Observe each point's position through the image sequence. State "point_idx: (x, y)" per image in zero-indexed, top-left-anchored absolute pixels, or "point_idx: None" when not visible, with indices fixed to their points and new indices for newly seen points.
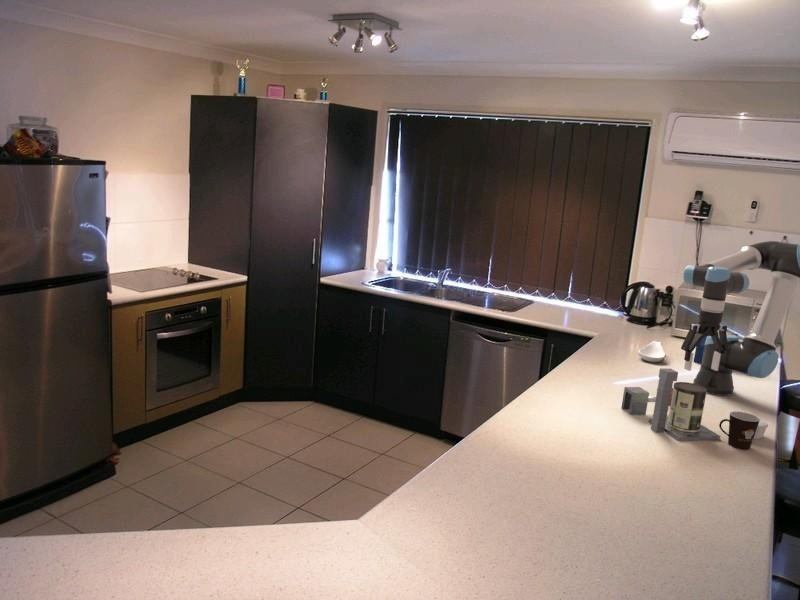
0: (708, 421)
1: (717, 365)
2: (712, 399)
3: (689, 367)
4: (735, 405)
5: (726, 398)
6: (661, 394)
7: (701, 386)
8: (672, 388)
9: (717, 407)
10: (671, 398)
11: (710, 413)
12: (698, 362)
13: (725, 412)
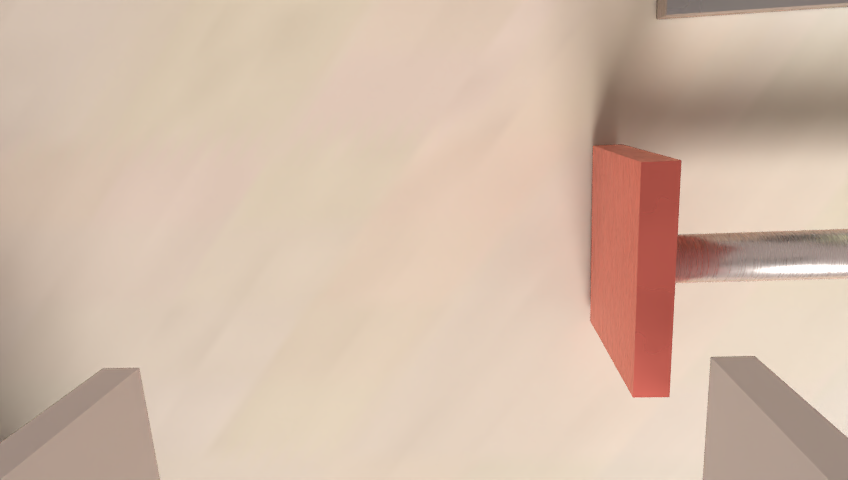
0: (469, 10)
1: (57, 423)
2: None
3: (792, 392)
4: (14, 347)
5: None
6: None
7: None
8: (667, 385)
9: (187, 310)
10: (741, 243)
11: (329, 188)
12: None
13: (183, 210)
